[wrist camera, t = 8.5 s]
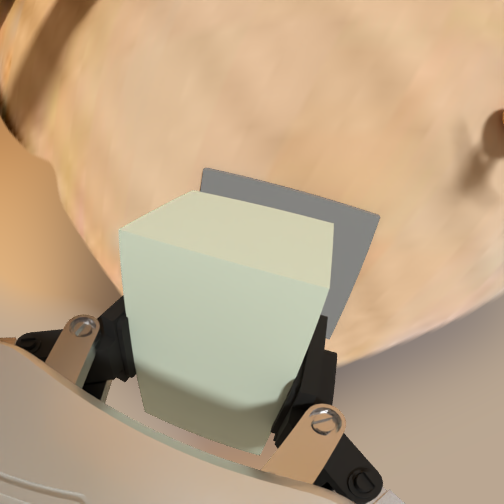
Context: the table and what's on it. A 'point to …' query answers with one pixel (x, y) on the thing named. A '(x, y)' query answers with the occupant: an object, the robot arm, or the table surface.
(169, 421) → the card box
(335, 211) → the mat
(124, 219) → the table surface
